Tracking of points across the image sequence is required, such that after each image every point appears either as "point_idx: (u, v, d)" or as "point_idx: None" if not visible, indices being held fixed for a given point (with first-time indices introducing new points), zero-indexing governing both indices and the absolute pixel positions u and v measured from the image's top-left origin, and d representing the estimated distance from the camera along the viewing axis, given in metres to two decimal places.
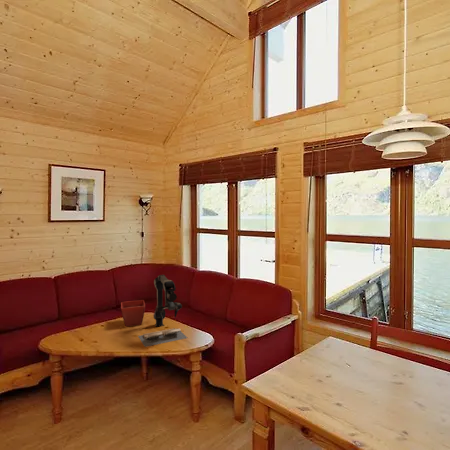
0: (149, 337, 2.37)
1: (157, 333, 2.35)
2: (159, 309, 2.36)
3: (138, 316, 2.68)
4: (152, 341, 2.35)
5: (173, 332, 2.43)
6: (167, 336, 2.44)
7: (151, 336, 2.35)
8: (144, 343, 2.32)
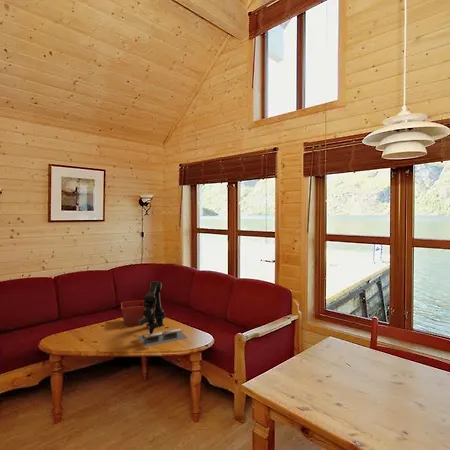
0: (149, 337, 2.36)
1: (157, 333, 2.35)
2: None
3: (138, 316, 2.68)
4: (152, 341, 2.35)
5: (173, 332, 2.43)
6: (167, 336, 2.44)
7: (151, 336, 2.34)
8: (144, 343, 2.32)
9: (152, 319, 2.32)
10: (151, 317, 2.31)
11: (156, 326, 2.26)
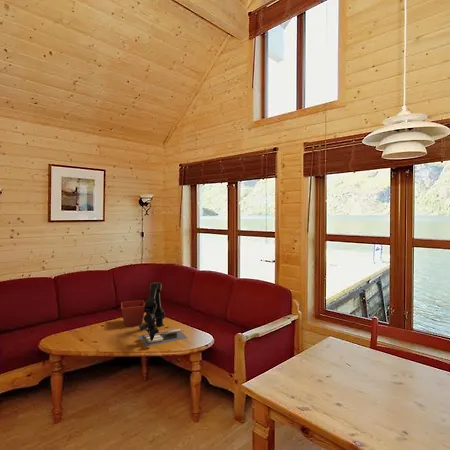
0: None
1: (158, 340, 2.34)
2: None
3: (138, 316, 2.68)
4: None
5: (173, 332, 2.43)
6: (167, 336, 2.44)
7: None
8: (144, 343, 2.32)
9: (152, 325, 2.31)
10: (151, 322, 2.31)
11: (157, 331, 2.26)
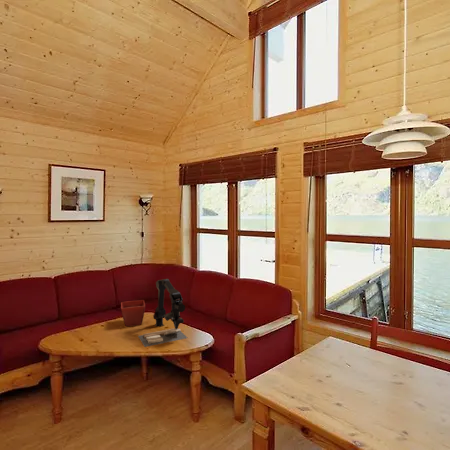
0: None
1: (158, 340, 2.34)
2: None
3: (138, 316, 2.68)
4: None
5: (173, 332, 2.43)
6: (167, 336, 2.44)
7: None
8: (144, 343, 2.32)
9: (177, 315, 2.40)
10: (176, 313, 2.40)
11: (182, 321, 2.35)
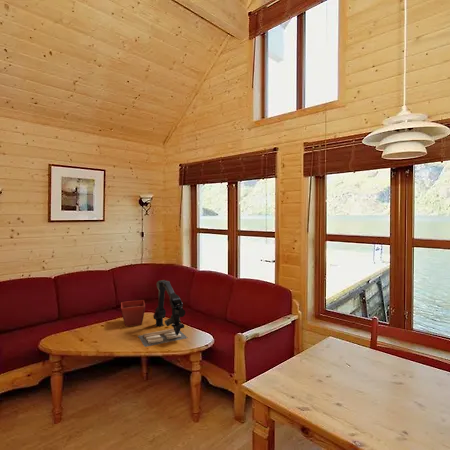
0: None
1: (158, 340, 2.34)
2: None
3: (138, 316, 2.68)
4: None
5: None
6: None
7: None
8: (144, 343, 2.32)
9: (178, 320, 2.40)
10: (177, 318, 2.39)
11: (182, 326, 2.34)
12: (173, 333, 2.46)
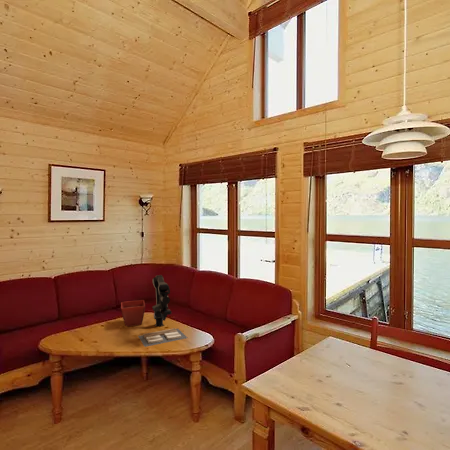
0: None
1: (158, 340, 2.34)
2: None
3: (138, 316, 2.68)
4: None
5: None
6: None
7: None
8: (144, 343, 2.32)
9: (165, 306, 2.45)
10: (164, 304, 2.45)
11: (169, 313, 2.40)
12: (173, 333, 2.46)
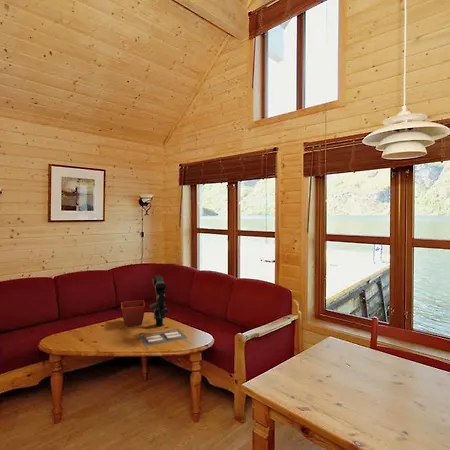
0: None
1: (158, 340, 2.34)
2: None
3: (138, 316, 2.68)
4: None
5: None
6: None
7: None
8: (144, 343, 2.32)
9: (162, 305, 2.46)
10: (161, 303, 2.46)
11: (166, 311, 2.41)
12: (173, 333, 2.46)
